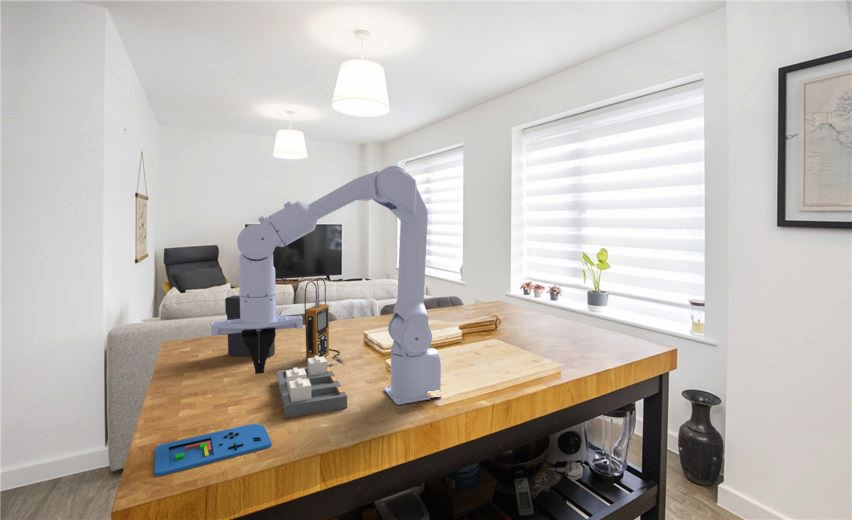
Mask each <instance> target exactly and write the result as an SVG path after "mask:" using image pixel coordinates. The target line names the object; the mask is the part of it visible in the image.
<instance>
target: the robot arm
mask: <svg viewBox="0 0 852 520" xmlns="http://www.w3.org/2000/svg"><path fill="white" fill-rule="evenodd" d="M356 201H374V202H375V203H377V204H379V205H381V206H383V207H385V208H387V209H389V211H390V212H391V213H392V214H393V215H395V216H396V218H397V219H399V220H400V227H399V228H400V229H399V250H398V253H399V254H398V272H397V279H398V280H397V281H398V282H397V298H396V299H397V300H396V302H395V305H394V306H393V313H392V314H393V315H392V317H391V319H390V320H389V323H388V328H387V330H388V334H389V336H390V338H391V339H392V340H393V343H392V345H391V347H390V385H389V386H385V387H384V388H383V390H384V391H385V393H386V394H387V395H388V397H389V398H390V399H391V400H392V401H393V403H394V404H396V405H406V404H411V403H416V402H421V401H427V400H431V399H430V397H429V396H427V392H428V391H435V390H440V391H441V385H442V384H441V377H442V373H441V370H442V369H441V368H442V364H441V358H440V354H439V351H437V349H436V348H435V347H431V344H432V341H433V333H432V331H431V328H430V326H429V315H428V311H427V309H426V305H425V302H424V301H425V300H424V299H425V282H426V281H425V280H426V279H425V278H426V261H427V239H428V238H427V236H428V217H429V212H428V208H427V207H426V203H425V201H424V200H423V198H422V196H421V194H420V191H419V190H418V187H417V180H416V179H415V177H413V176H412V175H411V174H410V173H409V172H408V171H407V170H405V169H404V168H403V167H401V166H399V165H389V166H387V167H385V168H383V169H382V170H380V171H378V170H376V171H373V172H371V173H367V174H364V175H362V176H359V177H356V178H354V179H352V180H351V181H349V182H347V183H345V184H343V185H341V186H339V187H338V188H336V189H334V190H332V191H331V192H329V193H327V194H326V195H325V194H324V195H322V197H319V198H318V199H316V200H314V201H313V202H311V203H305V202H303V201H298V200H297V201H295V202H293V203H292V201H288V202H286V203H284V204H283V207H284V208H281V209H280V210H278V211H276V212H274V213H272V214H270V215H269V216H266V217H265V216H264V215H262V216H260V217H258V219H257V220H258V222H259V223H251V224H248V225H247V227H244V228H243V229H242V230H241V231H240V232H239V235H238V236H237V241H236V242H237V244H236V245H237V247H238V250H239V252H240V256H239V265H240V268H238V272H239V273H238V274H239V275H238V278H239V285H238V287H239V296H240V319H234V320H227V319H226V320H222V321H221V320H219V321H212V322H210V323H211V324H210V333H211V334H210V336H211V337H216V336H219V335H228V334H230V333H242V339H243V342H244V343H245V345H246V347H247V349H248V351H249V353H250V355H251V357H250V358H251V360H252V363H253V368H254V373H255V375H260V374H265V367H266V362H267V359H268V358H267V355H268V352H269V350H270V347H271V345H272V343H273V341H274V339H275V338H276V336H277V333H276V331H277V330H288V329H297V330H300V329H303V327H304V325H303V324H304V323H303V321H304V319H303V316H302V315H277V309H276V308H277V307H276V305H277V303H276V302H277V300H276V268H275V266H274V251H275V250H276V249H275V248H276V247H281V248H284V247H285V246H288V245H289V244H291V243H293V242H295V241H297V240H298V239H300V238H303V237H304V236H306V235H308V234H310V233H312V232H314V231H315V229H316V228H317V223H318V221H319V220H320V219H322V218H324V217H325V216H328V215H329V214H332V213H334V212H336V211H338V210H340V209H341V208H343V207H346V206H347V205H350V204H352V203H354V202H356ZM257 331H259V333H260V357H258V333H257ZM275 340H276V339H275Z"/></svg>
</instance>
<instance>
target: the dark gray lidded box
mask: <svg viewBox="0 0 852 520" xmlns="http://www.w3.org/2000/svg"><path fill="white" fill-rule="evenodd" d="M224 307H225V308H224V309H225V314H226V321H227V320H234V319H240V295H231V296H227V297H225V299H224ZM257 333H258V358H260V333H259V331H257ZM275 340H276V339H274V341H273V343H272V345H271V347H270V350H269V352H268V355H267V357H269V358H270V357H272V356H273V355H275V354H276V351H275V350H276V346H275V345H276V344H275ZM227 351H228V352H227V354H228V356H229V357H246V358H247V357H248V358H251V355H250V353H249V351H248V349H247V347H246V345H245V343H244V342H243V339H242V333H230V334H227Z"/></svg>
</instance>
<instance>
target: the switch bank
mask: <svg viewBox="0 0 852 520" xmlns="http://www.w3.org/2000/svg"><path fill="white" fill-rule="evenodd" d="M297 368H298V369H303V368H304V369H305V372H306V374H307V379H309V381H310V384H311V399H310V400H304V401H297V402H291V403H290V399H289V390H287V387H286V371H287V370H293V368H291V369H290V368H289V369H284V370H283V369H282V370H277V371H276V381H278V382H277V385H278V386H279V387H278V391H279V390H280V391H279V396H280V395H281V396H280V400H281V399H282V401H281V405H282V404H283V405H282V409H284V410H283V415H284V414H285V415H284V418H285V419H288V418H293V417H292V416H294V417H299V415H300V416H306V415H311V414H316V413H323V412H330V411H335V410H336V411H337V410H341V409H346V408H347V409H348V395H347V394H346V392H345V390H344V389H343V387H342V385H341V383H340V382H339V380H338V378H337V377H336V375H335V374H334V372H333V370H332V368H331V366H329V365H327V373H325V374H318V375H310V376H308V366H307V367H297Z"/></svg>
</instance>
